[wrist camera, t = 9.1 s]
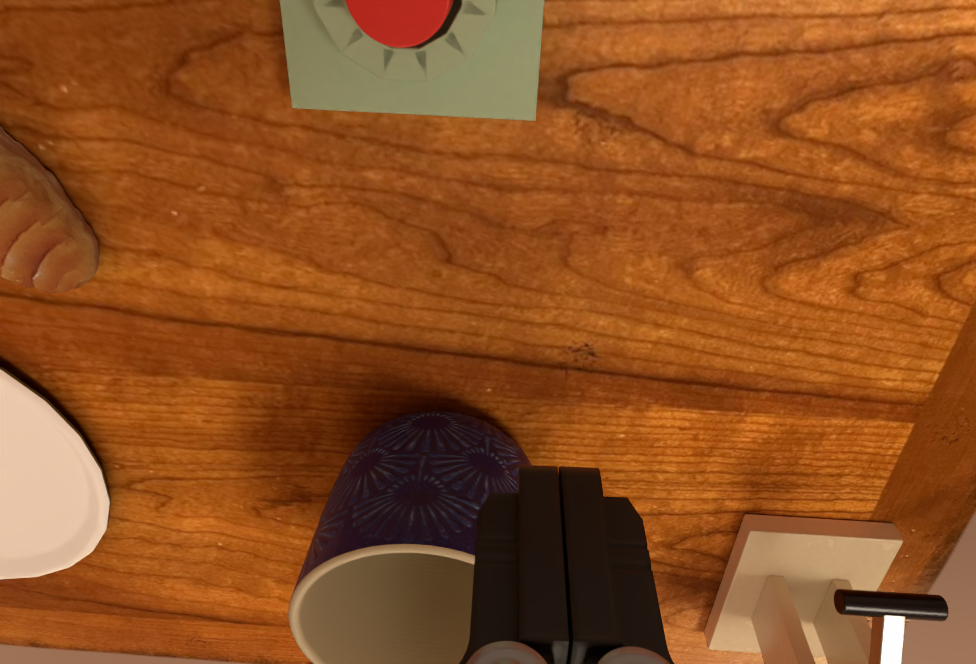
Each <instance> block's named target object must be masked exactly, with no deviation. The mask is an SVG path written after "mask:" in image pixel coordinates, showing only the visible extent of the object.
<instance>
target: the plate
mask: <svg viewBox="0 0 976 664" xmlns="http://www.w3.org/2000/svg"><path fill="white" fill-rule="evenodd" d="M110 504H111V498H110V495H109V491H108V487H107V484H106V480H105V476H104V473H103V469H102V467H101V465H100V464H99V462H98V461H97V459H96V457H95V456H94V454H93V452H92V451H91V449H90V448H89V446H88V444H87V443H86V441H85V440H84V438H83V436H82V435H81V433H80V432H79V431H78V430H77V429H76V428H75V427H74V426H73V425H72V424H71V423H70V422H69V421H68V420H67V419H66V418H65V417H64V416H63V415H62V414H61V413H60V412H59V411H58V410H57V409H56V408H55V407H54V405H53V404H52V403H51V402H50V401H49V400H48V399H46V398H45V397H44V396H42V395H41V394H39V393H38V392H37V391H35V390H34V389H32V388H31V387H30V386H28V385H27V384H25V383H24V382H23V381H21V380H20V379H18V378H17V377H16V376H14V375H13V374H11V373H10V372H9V371H7V370H6V369H4V368H2V367H0V579H13V578H29V577H39V576H42V575H45V574H49V573H52V572H55V571H59V570H62V569H65V568H69V567H71V566H72V565H74V564H75V563H77V562H78V561H79V560H81V559H82V558H84V557H85V556H87V555H88V554H90V553H91V552H93V550H94V549H95V547H96V545H97V544H98V542H99V541H100V539H101V538H102V536H103V534H104V533H105V531H106V530H107V528H108V521H109V512H110Z"/></svg>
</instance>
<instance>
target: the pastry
mask: <svg viewBox="0 0 976 664" xmlns="http://www.w3.org/2000/svg"><path fill="white" fill-rule="evenodd" d="M98 262H99V247H98V242H97V239H96V237H95V236H94V234H93V232H92V228H91V227H90V226H89V225H88V224H87V223H86V222H85V221H84V217H83V215H82V213H81V212H80V211H79V210H78V209H76V208H75V207H74V206H73V205H72V203H71V202H70V200H69V199H68V197H67V196H66V194H65V192H64V189H63V186H62V185H61V184H60V183H59V181H58V180H57V178H56V177H55V176H54V175H53V174H52V173H51V172H50V171H47V170H45V168H44V166H43V165H42V164H41V163H40V162H39V161H38V160H37V159H36V158H35V157H34V156H33V155H32V154H31V153H29V152H28V151H27V150H26V149H25V148H24V147H23V145H22V144H20V143H19V142H16V141H14V140H13V139H12V138H11V137H10V136H9V135H8V134H7V133H6V132H5V131H4V129H3V128H2V127H1V126H0V276H1V277H3V278H5V279H7V280H10V281H14V282H17V283H19V284H21V285H24V286H26V287H29V288H36V289H40V290H43V291H45V292H47V293H57V292H65V291H69V290H71V289H74V288H78V287H80V286H81V285H83V284H85V283H86V282H88V281H89V280H90V279H91V278H92V277H93V276H94V275H95V273H96V271H97V268H98Z"/></svg>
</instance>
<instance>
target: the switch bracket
mask: <svg viewBox="0 0 976 664" xmlns="http://www.w3.org/2000/svg"><path fill="white" fill-rule="evenodd" d="M902 543H903V539H902V537H901V536H900V534H899V532H898V530H897V529H896V527H895V525H894V524H893V523H882V522H866V521H850V520H834V519H818V518H803V517H787V516H771V515H755V514H745V515H744V517H743V520H742V523H741V526H740V529H739V532H738V535H737V538H736V541H735V543H734V546H733V549H732V552H731V555H730V558H729V561H728V564H727V567H726V570H725V573H724V575H723V578H722V581H721V584H720V587H719V590H718V593H717V596H716V599H715V602H714V605H713V607H712V610H711V613H710V616H709V619H708V622H707V625H706V628H705V631H704V634H705V638H706V643H707V647H708V650H719V651H734V652H749V653H762V657H763V660H764V664H815V661H814V658H813V657H824V658H826V659H827V662H828V664H869V654H870V642H871V628H870V626H869V624H868V622H867V619H866V617H865V616H853V615H841V614H839V613H838V612H837V611H836V608H835V605H834V593H835V591H836V590H837V589H851V590H867V591H877V589H878V587H879V585H880V584H881V582H882V580H883V578H884V576H885V574H886V572H887V571H888V569H889V567H890V565H891V563H892V561H893V559H894V558H895V556H896V554H897V552H898V550H899V548H900V546H901V545H902Z"/></svg>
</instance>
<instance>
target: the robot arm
mask: <svg viewBox="0 0 976 664" xmlns="http://www.w3.org/2000/svg"><path fill="white" fill-rule="evenodd" d="M459 664H674V663H673V661H672V659H671V657H670V655H669V652H668V648H667V645H666V640H665V634H664V629H663V624H662V619H661V614H660V608H659V603H658V598H657V593H656V588H655V582H654V577H653V572H652V570H651V561H650V556H649V551H648V550H647V541H646V535H645V530H644V525H643V520H642V518H641V517H640V516H639V514H638V513H637V511H636V510H635V508H634V507H633V506H632V504H631V503H630V501H629V500H628V498H622V497H603V490H602V483H601V476H600V471H599V468H585V467H560V468H559V473H558V469H557V467H555V466H530V465H519V469H518V485H517V493H494V492H490V494H489V495H488V497H487V499H486V500H485V502H484V504H483V505H482V507H481V509H480V510H479V512H478V515H477V531H476V546H475V563H474V577H473V592H472V608H471V623H470V637H469V644H468V647H467V650H466V652H465V654H464V656H463V658H462V660H461V661H460V663H459Z"/></svg>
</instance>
